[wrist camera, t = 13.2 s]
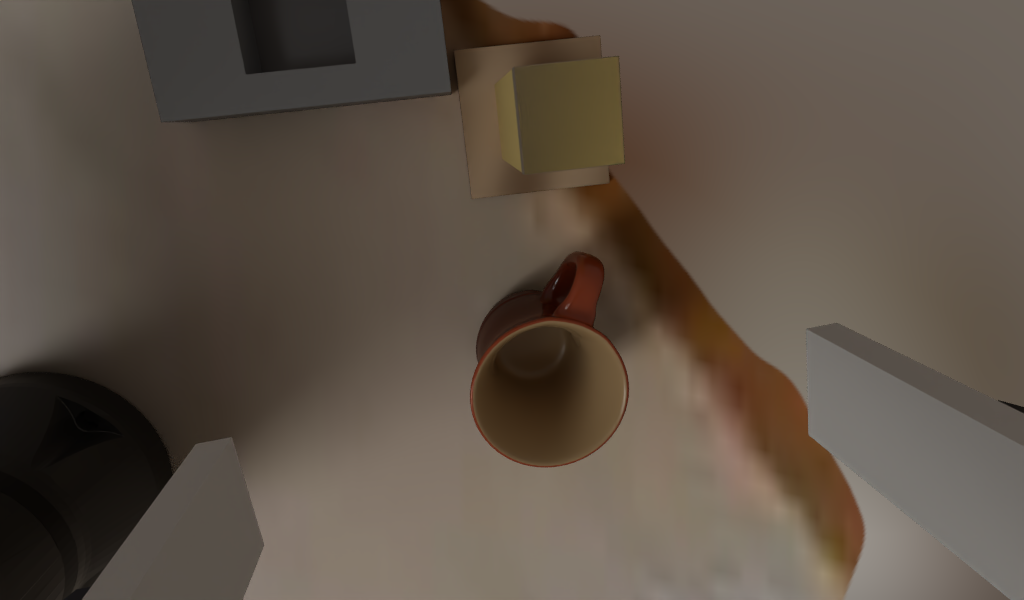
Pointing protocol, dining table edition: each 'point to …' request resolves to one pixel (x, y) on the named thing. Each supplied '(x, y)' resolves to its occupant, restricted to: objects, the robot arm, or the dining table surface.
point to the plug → (561, 115)
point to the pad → (481, 118)
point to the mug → (549, 371)
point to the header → (289, 54)
